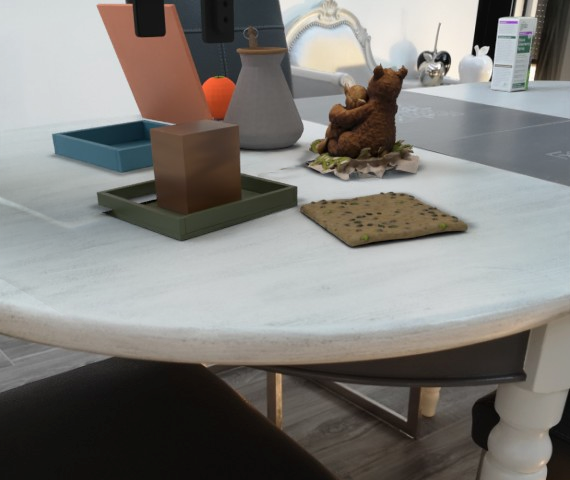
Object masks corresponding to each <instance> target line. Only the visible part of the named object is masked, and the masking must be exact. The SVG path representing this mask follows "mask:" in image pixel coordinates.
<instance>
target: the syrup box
mask: <svg viewBox="0 0 570 480" xmlns="http://www.w3.org/2000/svg"><path fill="white" fill-rule="evenodd" d="M537 26H538V17H536V16H528V15H527V16H503V17H499V18H498V23H497V32H496V41H495V48H494V56H493V57H494V58H493V67H492V74H491V83H490V89H491V90H494V91H500V92H507V93H508V92H509V93H512V92H518V91H527V90H528V88H529V81H530V73H531V66H532V60H533V52H534V45H535V40H536V39H535V38H536V33H537Z"/></svg>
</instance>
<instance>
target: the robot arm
mask: <svg viewBox="0 0 570 480" xmlns="http://www.w3.org/2000/svg"><path fill="white" fill-rule="evenodd" d="M199 3H200V27H201V40H202V42H203V43H204V44H209V45H210V44H230V43H233V42H234V41H235V6H234V5H235V4H234V0H199ZM131 4H132V5H133V17H134V28H135V35H136V36H137V37H141V38H144V37H164V36H165V34H166V25H165V9H164V4H165V0H131Z"/></svg>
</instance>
